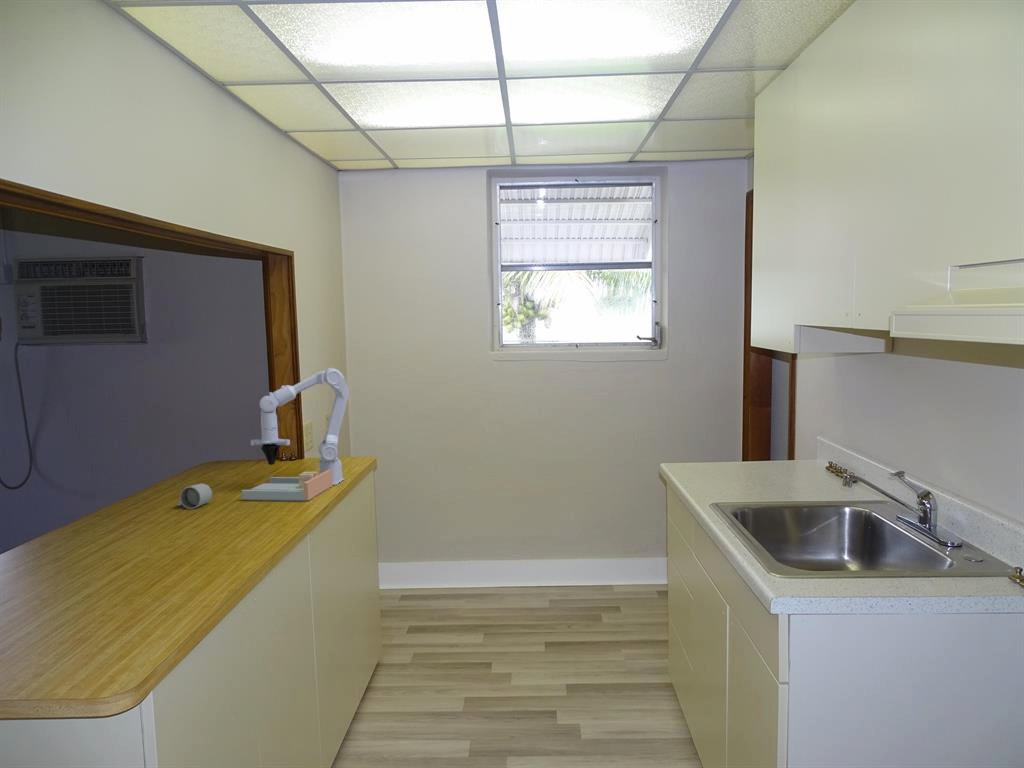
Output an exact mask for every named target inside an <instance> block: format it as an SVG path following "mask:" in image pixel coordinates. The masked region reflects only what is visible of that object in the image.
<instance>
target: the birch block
mask: <svg viewBox="0 0 1024 768" xmlns="http://www.w3.org/2000/svg"><path fill="white" fill-rule="evenodd" d="M317 475H319V471H303V472H301V473H300V474H298V477H299V489H303V483H304V482H306V481H308V480H310V479H312V478H313V477H315V476H317Z"/></svg>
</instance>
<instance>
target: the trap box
mask: <svg viewBox="0 0 1024 768" xmlns="http://www.w3.org/2000/svg"><path fill="white" fill-rule="evenodd" d="M331 486H334V485H333V482H332V470H326V471H325V472H323V473H321V474H320V473H318V475H317V476H315V477H313V478H312V479H310V480H308V481H306V482H304V483H303V489H299V476H271V477H268V483H267V482H265V483H264V482H263V483H261V484H259V485H257V486H254V487H252V488H251V489H242V490H241V501H242V500H259V501H258V502H301V501H308V502H310V501H312V500H313V499H315V498H316V496H317V495H318V496H320V495H321V493H322V492H323V493H325V492H326V491H328V490H329V489H328V488H330V487H331ZM331 488H332V487H331ZM331 488H330V489H331ZM327 489H328V490H327ZM325 490H326V491H325ZM324 491H325V492H324ZM323 493H322V494H323ZM319 494H320V495H319ZM318 496H317V497H318ZM314 497H315V498H314ZM312 498H313V499H312ZM311 499H312V500H311ZM260 500H262V501H260ZM309 500H310V501H309Z"/></svg>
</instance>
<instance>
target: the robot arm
mask: <svg viewBox="0 0 1024 768" xmlns="http://www.w3.org/2000/svg"><path fill="white" fill-rule="evenodd" d="M325 384H326V385H328V386H330V387H331V390H333V392H334V393H335V396H334V400H333V404H332V409H331V413H330V417H329V421H328V424H327V428H326V432H325V435H324V437H323V439H322V441H321V443H320V444H319V445H318V453H319V455H320V457H319V459H318V466H319V467H318V470H319V471H318V473H319V474H321V473H323V472H325V471H326V470H332V482H333V486H336V485H338V484H340V483H341V482H343V481H344V479H346V478H343V464H342V461H341V460H340V459H339V457H338V453H339V452H338V445H339V435H340V431H341V426H342V423H343V420H344V416H345V411H346V407H347V404H348V401H349V396H350V390H349V387H348V385H347V381H346V378H345V375H344V374H342V373H341V371H340V370H338V369H336V368H334V367H329V368H326V369H325V370H323V369H322V370H321V371H318V372H315V373H314V374H312V375H310V376H309V377H306V378H305V379H303V380H301V381H300V382H297V383H296V384H294V385H289V384H287V385H282V386H280V388H279V389H276V390H275V391H273V392H272V391H269V392H268V394H269V395H265V396H263V397H261V399H260V400H259V408H260V430H261V438H260V439H258V438H257V439H250V446H261V447H260V449H261V451H262V452H263V453H264V455H265V458H266V460H267V462H268V463H267V464H268V465H269V466H272V465H275V464H276V458H277V454H278V452H279V449H280V447H281V446H290V445H291V440H290V439H285V438H279V430H278V415H277V407H281V406H284V405H285V404H286V403H289V402H291V401H293V400H294V399H296V398H297V397H296V396H297V394H299V393H301V392H302V391H303V392H304V391H305V390H307V389H309V388H311V387H313V386H315V385H325ZM342 480H343V481H342ZM339 482H340V483H339Z"/></svg>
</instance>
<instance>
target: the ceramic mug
mask: <svg viewBox="0 0 1024 768" xmlns="http://www.w3.org/2000/svg"><path fill="white" fill-rule="evenodd" d="M212 497H213V491H212V488H211V487H210V486H209V485H208V484H206V483H196V484H192V485H190V486H189V485H188V486H186V487H184V488H183V489H182V490H181V492H180V494H179V500H178V501H177V502H176V504H177V506H178V507H181V506H182V507H184V508H186V509H188V510H194V509H197V508H199V507H201V506H203V505H205V504H207V503H208V502H210V501H211V499H212Z"/></svg>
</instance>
